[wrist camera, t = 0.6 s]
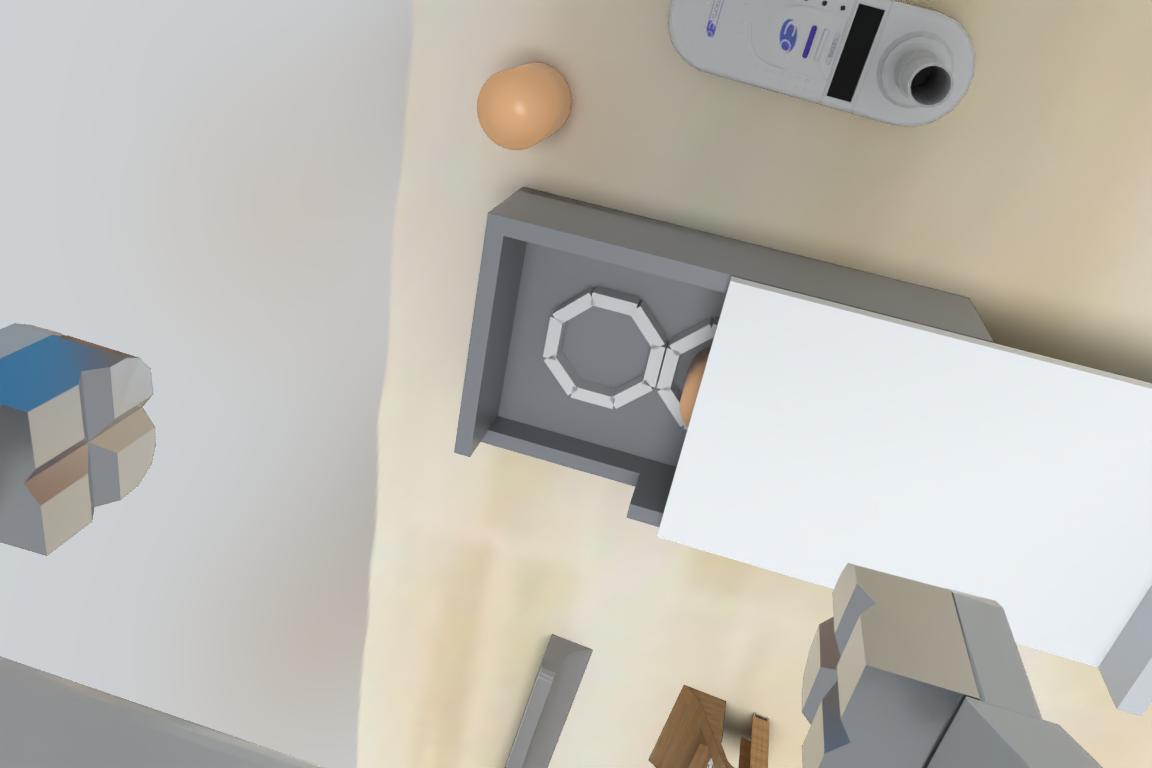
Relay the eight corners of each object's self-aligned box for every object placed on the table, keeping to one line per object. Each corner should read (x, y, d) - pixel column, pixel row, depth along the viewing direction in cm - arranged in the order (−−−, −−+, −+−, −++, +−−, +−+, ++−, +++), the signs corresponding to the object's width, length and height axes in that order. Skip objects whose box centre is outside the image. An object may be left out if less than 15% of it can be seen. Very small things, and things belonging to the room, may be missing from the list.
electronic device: (660, -63, 35) (1028, 34, 33) (692, -53, 43) (986, 24, 41) (627, 71, 37) (968, 168, 35) (664, 54, 46) (940, 132, 44)
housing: (523, 186, 50) (488, 212, 44) (969, 298, 47) (993, 341, 41) (486, 418, 57) (452, 466, 52) (870, 527, 54) (879, 592, 48)
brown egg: (508, 55, 47) (482, 61, 43) (577, 70, 47) (557, 79, 43) (498, 127, 49) (472, 140, 45) (564, 143, 48) (544, 157, 45)
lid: (731, 276, 43) (726, 301, 39) (1279, 415, 39) (1324, 455, 36) (658, 528, 50) (648, 568, 47) (1116, 663, 47) (1141, 716, 43)
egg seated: (697, 337, 50) (689, 367, 46) (763, 355, 50) (761, 386, 46) (681, 395, 52) (672, 429, 48) (745, 413, 52) (740, 448, 48)
